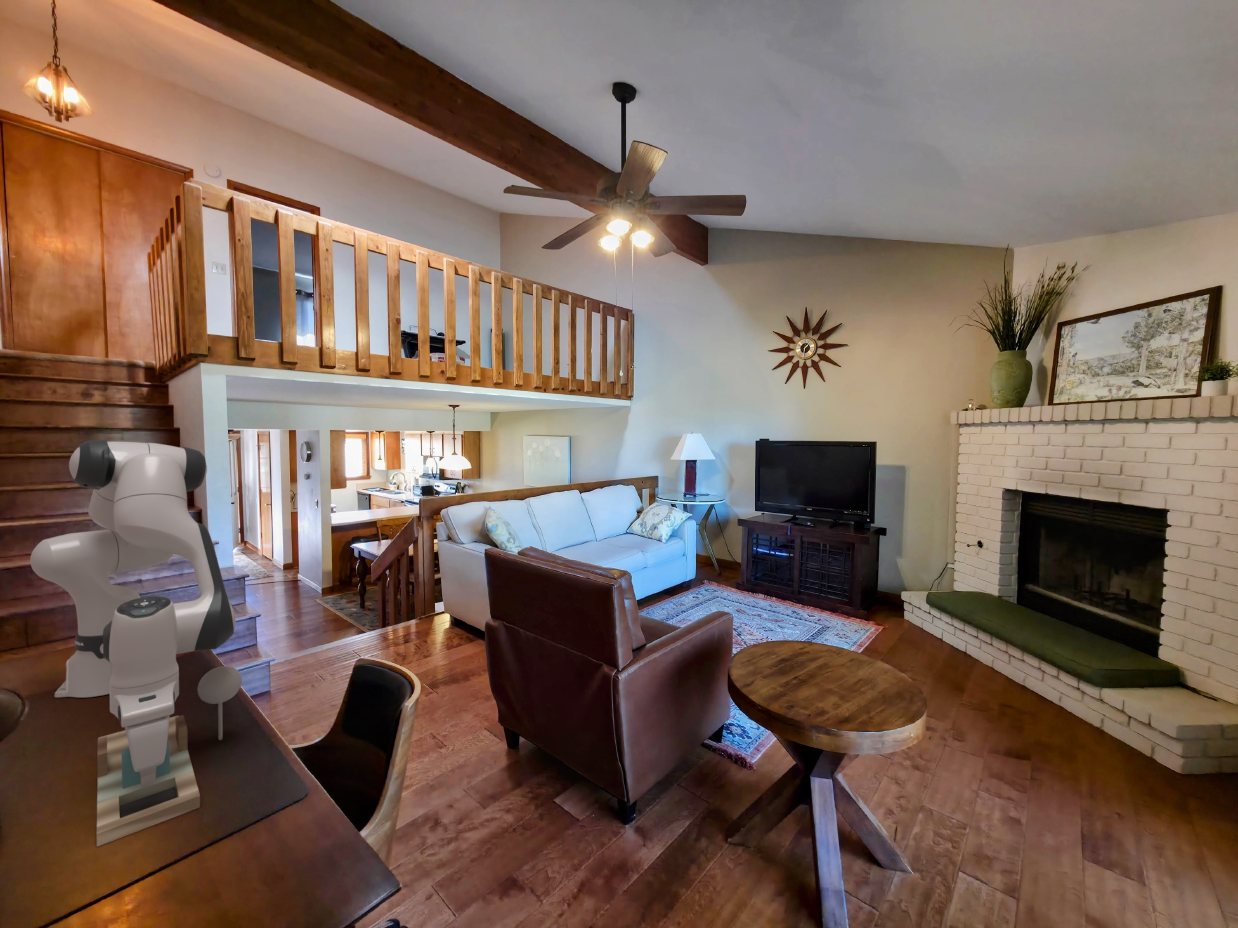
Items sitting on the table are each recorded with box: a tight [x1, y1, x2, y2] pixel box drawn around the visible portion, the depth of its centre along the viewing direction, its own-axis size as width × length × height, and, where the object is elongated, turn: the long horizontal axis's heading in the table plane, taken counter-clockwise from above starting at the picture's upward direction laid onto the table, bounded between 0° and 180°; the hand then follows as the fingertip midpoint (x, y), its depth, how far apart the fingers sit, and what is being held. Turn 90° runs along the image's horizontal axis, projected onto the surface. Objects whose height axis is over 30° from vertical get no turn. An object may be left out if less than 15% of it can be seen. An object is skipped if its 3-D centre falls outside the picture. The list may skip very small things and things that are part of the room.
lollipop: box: [196, 665, 243, 741], centre depth 103 cm, size 7×7×15 cm
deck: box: [96, 714, 201, 848], centre depth 92 cm, size 35×12×6 cm, turn 46°
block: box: [122, 740, 170, 789], centre depth 89 cm, size 5×6×4 cm
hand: (146, 770), depth 88 cm, fingers open, 8 cm apart
